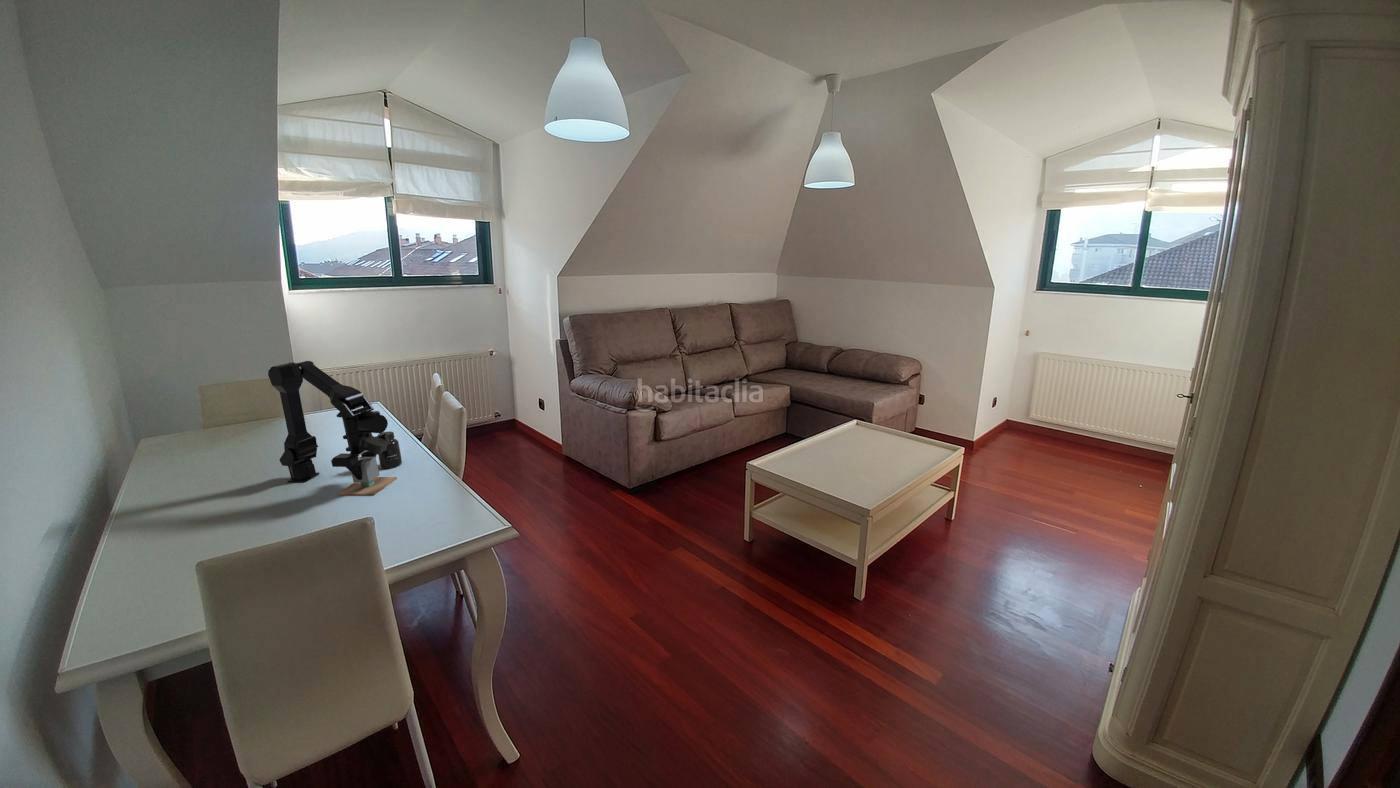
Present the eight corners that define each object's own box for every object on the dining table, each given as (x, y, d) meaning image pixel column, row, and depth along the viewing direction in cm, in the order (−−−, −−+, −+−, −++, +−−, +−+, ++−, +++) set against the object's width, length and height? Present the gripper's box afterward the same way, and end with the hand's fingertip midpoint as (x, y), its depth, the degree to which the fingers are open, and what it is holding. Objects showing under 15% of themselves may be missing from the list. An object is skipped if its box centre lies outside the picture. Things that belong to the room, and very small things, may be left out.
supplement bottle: (392, 469, 187) (386, 437, 183) (376, 468, 188) (369, 436, 185) (407, 462, 193) (400, 430, 190) (390, 460, 194) (384, 429, 191)
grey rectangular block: (353, 482, 171) (349, 463, 169) (364, 475, 176) (360, 456, 174) (369, 482, 171) (364, 463, 169) (379, 475, 176) (375, 456, 174)
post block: (337, 495, 169) (333, 478, 167) (363, 478, 180) (359, 463, 179) (374, 495, 168) (370, 479, 166) (397, 478, 179) (394, 463, 178)
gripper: (360, 441, 159) (370, 489, 163) (398, 420, 177) (406, 464, 181) (324, 441, 160) (336, 488, 164) (366, 420, 178) (375, 464, 182)
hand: (365, 475), depth 173 cm, fingers closed on grey rectangular block, 5 cm apart
